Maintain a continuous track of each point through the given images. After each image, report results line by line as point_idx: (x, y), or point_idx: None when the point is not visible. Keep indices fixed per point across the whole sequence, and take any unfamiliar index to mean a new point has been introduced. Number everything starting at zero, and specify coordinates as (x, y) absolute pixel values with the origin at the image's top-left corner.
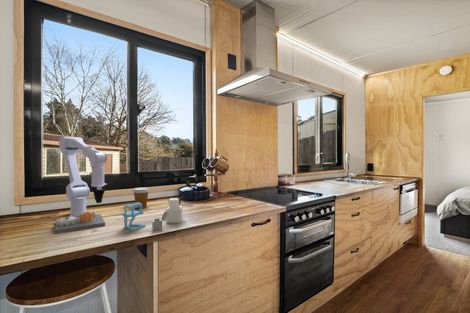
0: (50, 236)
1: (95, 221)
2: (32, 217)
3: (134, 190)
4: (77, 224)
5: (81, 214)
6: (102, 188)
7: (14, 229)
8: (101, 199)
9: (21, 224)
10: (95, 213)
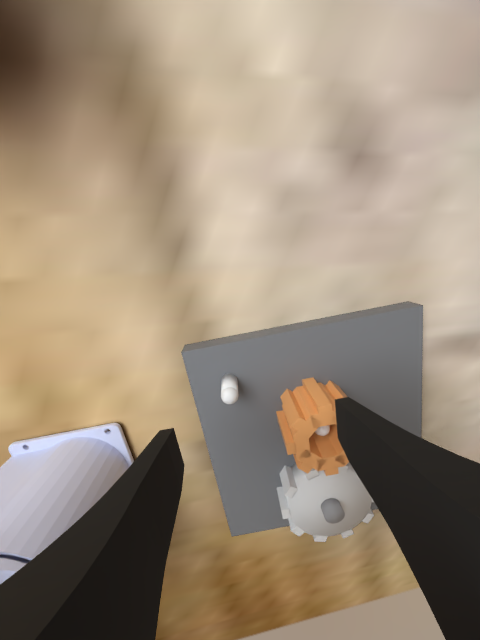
0: None
1: (364, 360)
2: None
3: None
4: None
5: (347, 463)
6: (68, 604)
7: (268, 612)
8: (379, 419)
9: (203, 615)
10: (235, 384)
